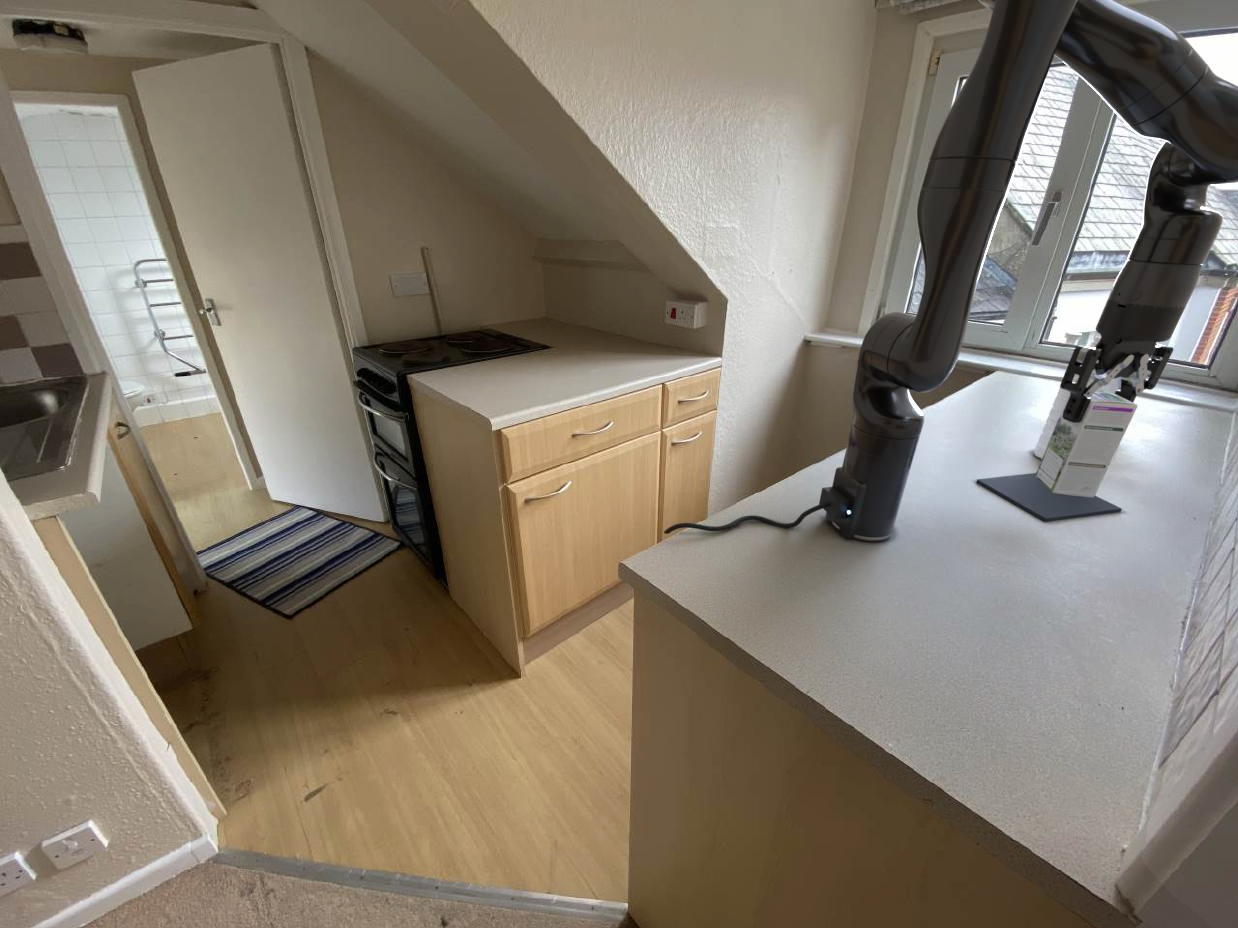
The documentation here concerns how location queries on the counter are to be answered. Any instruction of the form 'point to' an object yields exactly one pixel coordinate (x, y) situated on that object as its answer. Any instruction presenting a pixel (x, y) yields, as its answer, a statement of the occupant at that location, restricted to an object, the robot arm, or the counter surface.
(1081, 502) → the mat
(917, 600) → the counter surface
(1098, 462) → the syrup box
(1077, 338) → the water bottle
